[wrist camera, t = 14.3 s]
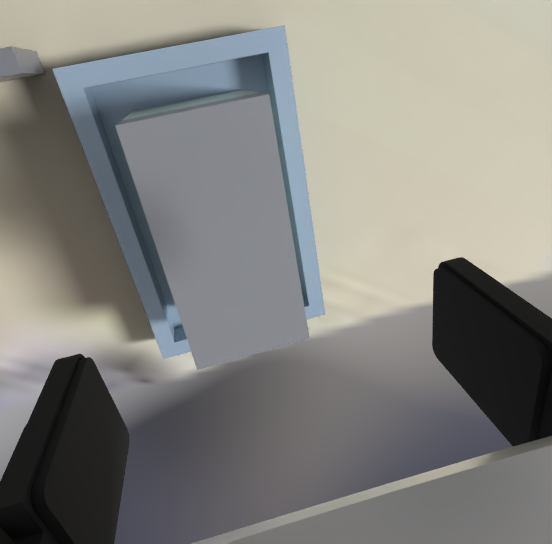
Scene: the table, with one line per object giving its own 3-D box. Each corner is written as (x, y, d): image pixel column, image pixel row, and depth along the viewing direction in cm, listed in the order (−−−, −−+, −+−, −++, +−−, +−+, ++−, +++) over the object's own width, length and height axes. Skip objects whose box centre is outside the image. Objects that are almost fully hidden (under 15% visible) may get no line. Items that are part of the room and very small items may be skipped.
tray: (273, 30, 22) (284, 25, 20) (314, 296, 30) (325, 314, 28) (65, 69, 21) (51, 68, 19) (164, 337, 29) (163, 359, 26)
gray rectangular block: (243, 89, 22) (269, 93, 16) (279, 280, 28) (309, 338, 22) (132, 111, 21) (115, 125, 15) (192, 302, 27) (197, 369, 21)
